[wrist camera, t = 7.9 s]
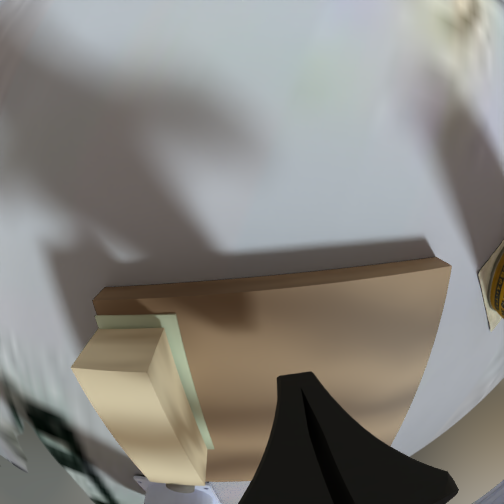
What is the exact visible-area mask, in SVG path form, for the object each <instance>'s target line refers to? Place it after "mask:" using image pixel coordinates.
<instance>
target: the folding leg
mask: <svg viewBox="0 0 504 504" xmlns="http://www.w3.org/2000/svg"><path fill="white" fill-rule="evenodd" d="M71 369H72V371H73V372H74V374H75V376H76V378H77V380H78V382H79V384H80V385H81V387H82V389H83V391H84V392H85V394H86V396H87V397H88V399H89V401H90V402H91V404H92V405H93V407H94V409H95V410H96V412H97V413H98V415H99V416H100V418H101V419H102V421H103V422H104V424H105V425H106V427H107V428H108V430H109V431H110V432H111V434H112V435H113V437H114V438H115V439H116V441H117V442H118V443H119V445H120V446H121V447H122V449H123V450H124V451H125V452H126V454H127V455H128V456H129V457H130V459H131V460H132V461H133V462H134V464H135V465H136V466H137V467H138V468H139V469H140V471H141V472H142V473H143V474H144V475H145V476H146V477H147V479H148V480H149V481H150V482H157V483H166V487H167V488H168V489H170V490H172V491H175V492H179V493H192V492H194V491H195V486H205V480H206V463H207V447H206V445H205V442H204V440H203V438H202V435H201V433H200V430H199V428H198V426H197V423H196V420H195V418H194V415H193V413H192V410H191V408H190V405H189V402H188V399H187V397H186V394H185V391H184V388H183V386H182V383H181V380H180V377H179V374H178V371H177V368H176V365H175V362H174V358H173V355H172V352H171V349H170V346H169V342H168V339H167V335H166V332H165V328H141V329H98V330H97V331H96V332H95V334H94V335H93V336H92V338H91V339H90V341H89V342H88V343H87V345H86V346H85V348H84V349H83V351H82V352H81V353H80V355H79V356H78V358H77V359H76V361H75V362H74V364H73V365H72V367H71Z"/></svg>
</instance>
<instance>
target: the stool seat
mask: <svg viewBox="0 0 504 504" xmlns="http://www.w3.org/2000/svg"><path fill="white" fill-rule="evenodd" d="M451 268H452V266H451V265H449V264H448V263H446V262H444V261H442V260H441V259H439V258H437V257H432V258H424V259H417V260H409V261H401V262H393V263H385V264H376V265H368V266H359V267H350V268H341V269H332V270H322V271H313V272H303V273H292V274H282V275H271V276H260V277H249V278H237V279H225V280H212V281H199V282H185V283H171V284H156V285H139V286H122V287H104V289H103V290H102V291H101V292H100V293H99V294H98V295H97V296H96V297H95V298H94V299H93V300H92V301H93V304H94V308H95V311H96V314H97V315H95V319H96V322H97V325H98V328H99V329H141V328H165V332H166V335H167V339H168V342H169V346H170V349H171V352H172V355H173V358H174V362H175V365H176V368H177V371H178V374H179V377H180V380H181V383H182V386H183V388H184V391H185V394H186V397H187V399H188V402H189V405H190V408H191V410H192V413H193V415H194V418H195V420H196V423H197V426H198V428H199V430H200V433H201V435H202V438H203V440H204V442H205V445H206V447H207V463H206V480H205V482H233V481H252V479H253V477H254V475H255V472H256V470H257V468H258V466H259V464H260V461H261V459H262V456H263V454H264V451H265V448H266V446H267V443H268V440H269V436H270V433H271V429H272V425H273V421H274V417H275V411H276V405H277V377H278V376H280V375H288V374H295V373H302V372H309V371H312V372H313V373H314V374H315V376H316V377H317V378H318V380H319V381H320V382H321V384H322V385H323V386H324V388H325V389H326V390H327V391H328V392H329V394H330V395H331V396H332V397H333V398H334V399H335V400H336V401H337V403H338V404H339V405H340V406H341V407H342V408H343V409H344V410H345V411H346V412H347V413H348V414H349V415H350V416H351V417H352V418H353V419H354V420H356V421H357V422H358V423H359V424H360V425H361V426H362V427H364V428H365V429H366V430H367V431H369V432H370V433H371V434H373V435H374V436H375V437H377V438H378V439H380V440H381V441H382V442H384V443H385V444H387V445H389V446H391V444H392V442H393V440H394V438H395V436H396V434H397V433H398V431H399V429H400V427H401V425H402V423H403V420H404V418H405V416H406V414H407V412H408V410H409V408H410V405H411V403H412V401H413V398H414V396H415V394H416V391H417V389H418V386H419V384H420V381H421V379H422V376H423V373H424V371H425V368H426V365H427V362H428V359H429V356H430V353H431V350H432V347H433V344H434V341H435V337H436V334H437V330H438V327H439V323H440V319H441V315H442V311H443V307H444V303H445V299H446V294H447V289H448V284H449V279H450V274H451Z"/></svg>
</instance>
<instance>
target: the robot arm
mask: <svg viewBox="0 0 504 504" xmlns="http://www.w3.org/2000/svg"><path fill="white" fill-rule="evenodd" d="M134 480H135V481H136V482H137V483H138V484H139V485H140V486H141V487H142V488H143V489H144V490H145V491H146V495H145V500H144V504H221V502H220V500H219V499H218V497H217V495H216V493H215V492H214V490H213V488H212V486H211V484H210V483H207V482H205V486H195V491H194V492H192V493H179V492H175V491H172V490H170V489H168V488H167V487H166V483H157V482H150V481H149V480H148V479H147V477H142V476H134ZM458 490H459V489H458V487H457V485H456V484H455V482H454V480H453V478H452V477H451V476H450V475H449V473H448V472H447V471H444V470H441V469H438V468H434V467H432V466H429V465H426V464H424V463H421V462H419V461H417V460H415V459H412V458H410V457H408V456H406V455H405V454H403V453H401V452H399V451H397V450H395V449H394V448H392V447H390V446H389V445H387V444H385V443H384V442H382V441H381V440H380V439H378V438H377V437H375V436H374V435H373V434H371V433H370V432H369V431H367V430H366V429H365V428H364V427H362V426H361V425H360V424H359V423H358V422H357V421H356V420H354V419H353V418H352V417H351V416H350V415H349V414H348V413H347V412H346V411H345V410H344V409H343V408H342V407H341V406H340V405H339V404H338V403H337V401H336V400H335V399H334V398H333V397H332V396H331V395H330V394H329V392H328V391H327V390H326V389H325V388H324V386H323V385H322V384H321V382H320V381H319V380H318V378H317V377H316V376H315V374H314V373H313V372H312V371H309V372H302V373H295V374H288V375H280V376H278V377H277V405H276V411H275V417H274V421H273V425H272V429H271V433H270V436H269V440H268V443H267V446H266V448H265V451H264V454H263V456H262V459H261V461H260V464H259V466H258V468H257V470H256V472H255V475H254V477H253V479H252V481H251V483H250V484H249V486H248V488H247V490H246V491H245V493H244V495H243V496H242V498H241V500H240V501H239V503H238V504H446V503H447V502H448V501H449V500H450V499H452V498H453V497H454V496H455V495H456V494H457V493H458ZM472 504H504V480H503V481H502V482H500V483H499V484H498V485H497V486H495V487H494V488H493V489H491V490H490V491H489V492H488V493H486V494H485V495H484V496H482V497H481V498H480V499H478V500H477V501H475V502H474V503H472Z"/></svg>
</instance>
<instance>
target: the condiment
mask: <svg viewBox="0 0 504 504" xmlns="http://www.w3.org/2000/svg"><path fill="white" fill-rule="evenodd" d="M478 276H479V279H480V284H481V288H482V293H483V298H484V303H485V307H486V311H487V316H488V321H489V325H490V330H491V332H492V330H493V329H494V328H495V327H496V325H497V324H498V323H499V322H500V320H501V319H502V318H503V319H504V240H503V241H502V243H501V244H500V246H499V247H498V248H497V249H496V251H495V252H494V253H493V254H492V256H491V257H490V259H489V260H488V261H487V262H486V263H485V265H484V266H483V267H482V269H481V270H480V272H479V274H478Z"/></svg>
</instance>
